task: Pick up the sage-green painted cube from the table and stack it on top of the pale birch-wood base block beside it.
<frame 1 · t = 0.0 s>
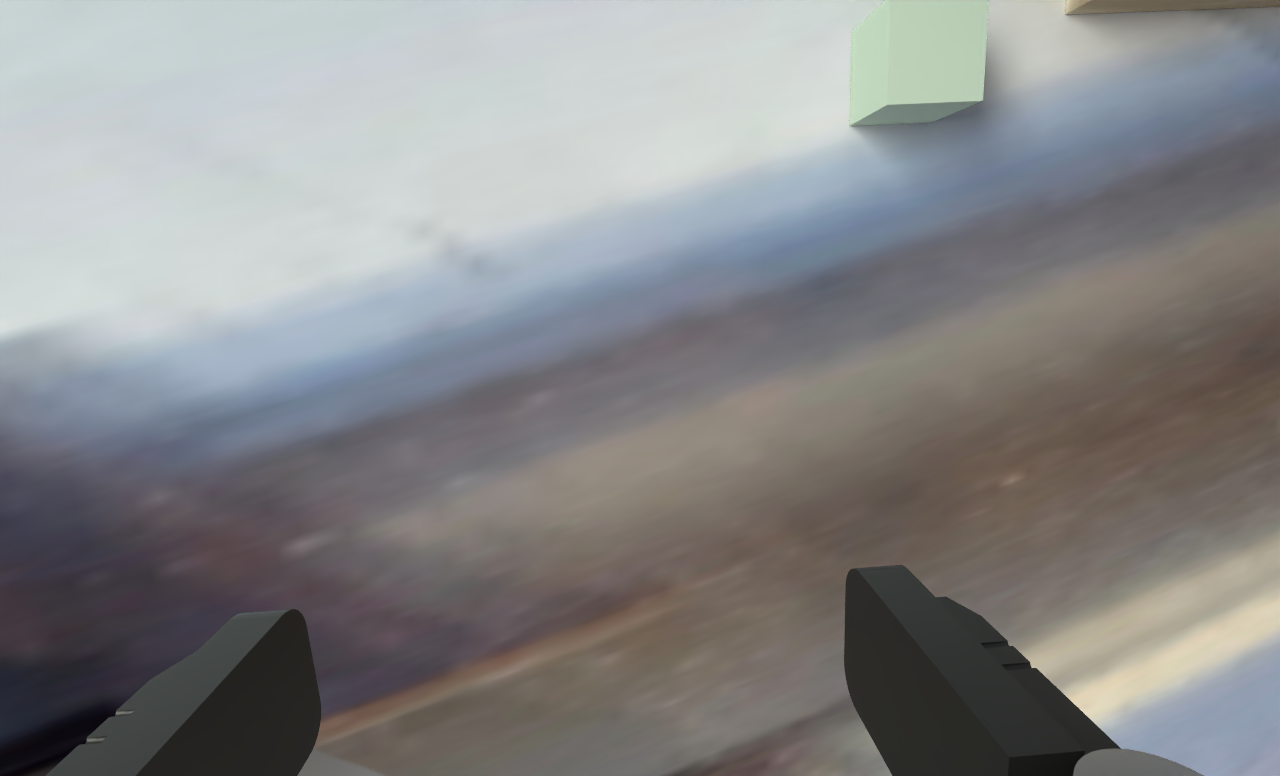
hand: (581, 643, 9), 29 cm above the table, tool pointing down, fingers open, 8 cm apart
cube: (891, 78, 35), on the table
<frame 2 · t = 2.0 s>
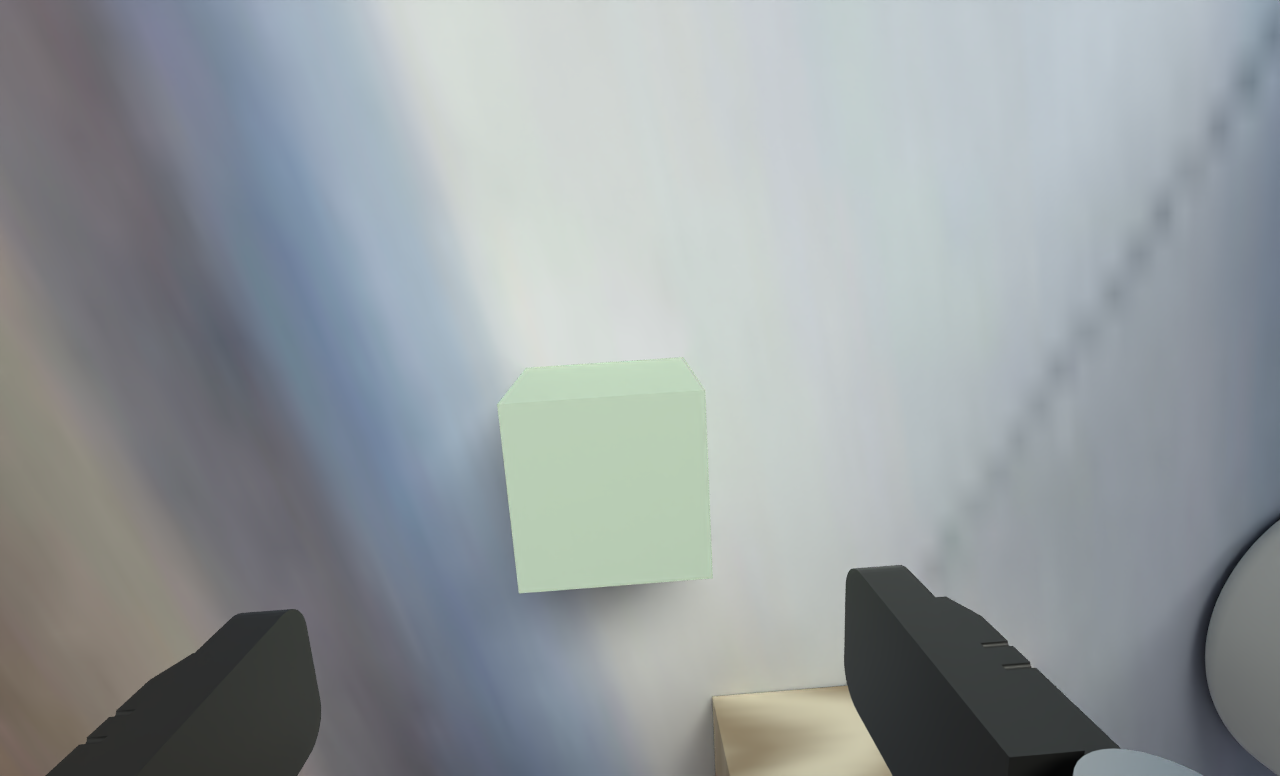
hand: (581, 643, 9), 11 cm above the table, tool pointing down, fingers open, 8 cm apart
cube: (610, 436, 20), on the table
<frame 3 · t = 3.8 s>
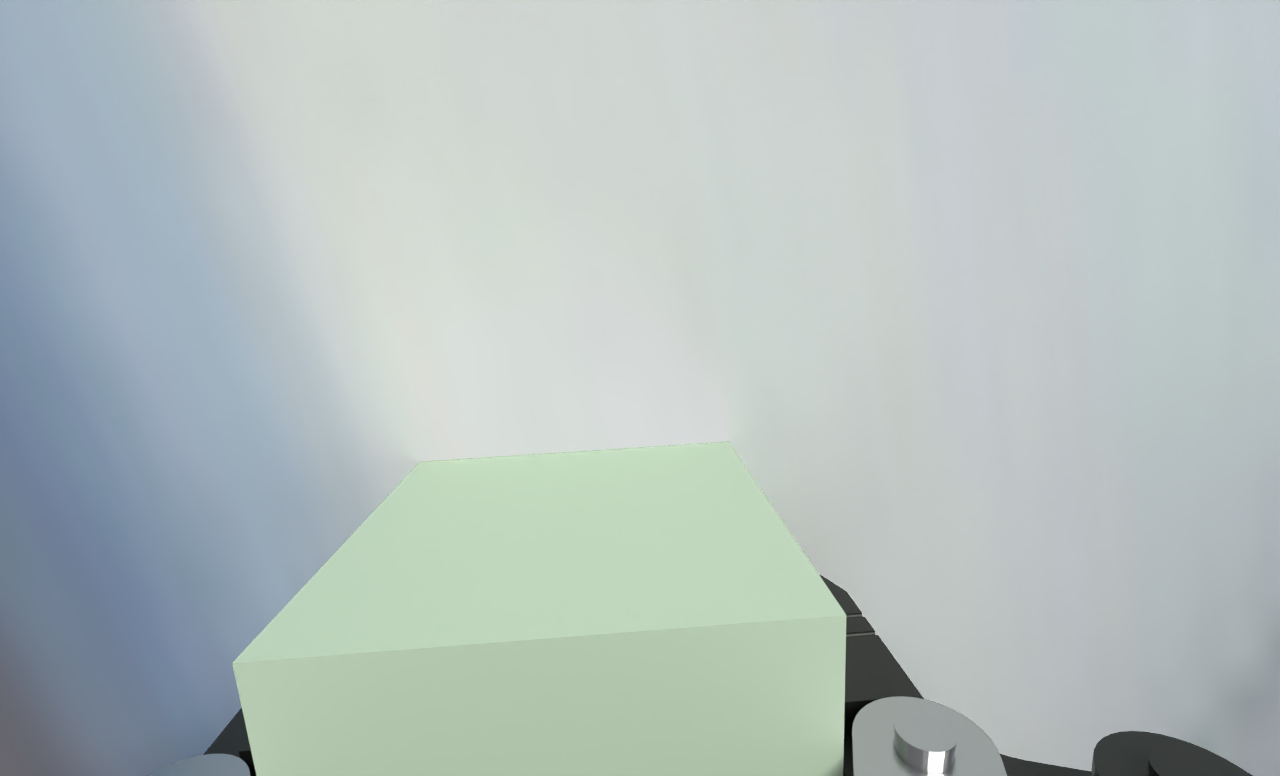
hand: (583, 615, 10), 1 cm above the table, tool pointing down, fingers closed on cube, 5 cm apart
cube: (586, 591, 10), on the table, touching gripper
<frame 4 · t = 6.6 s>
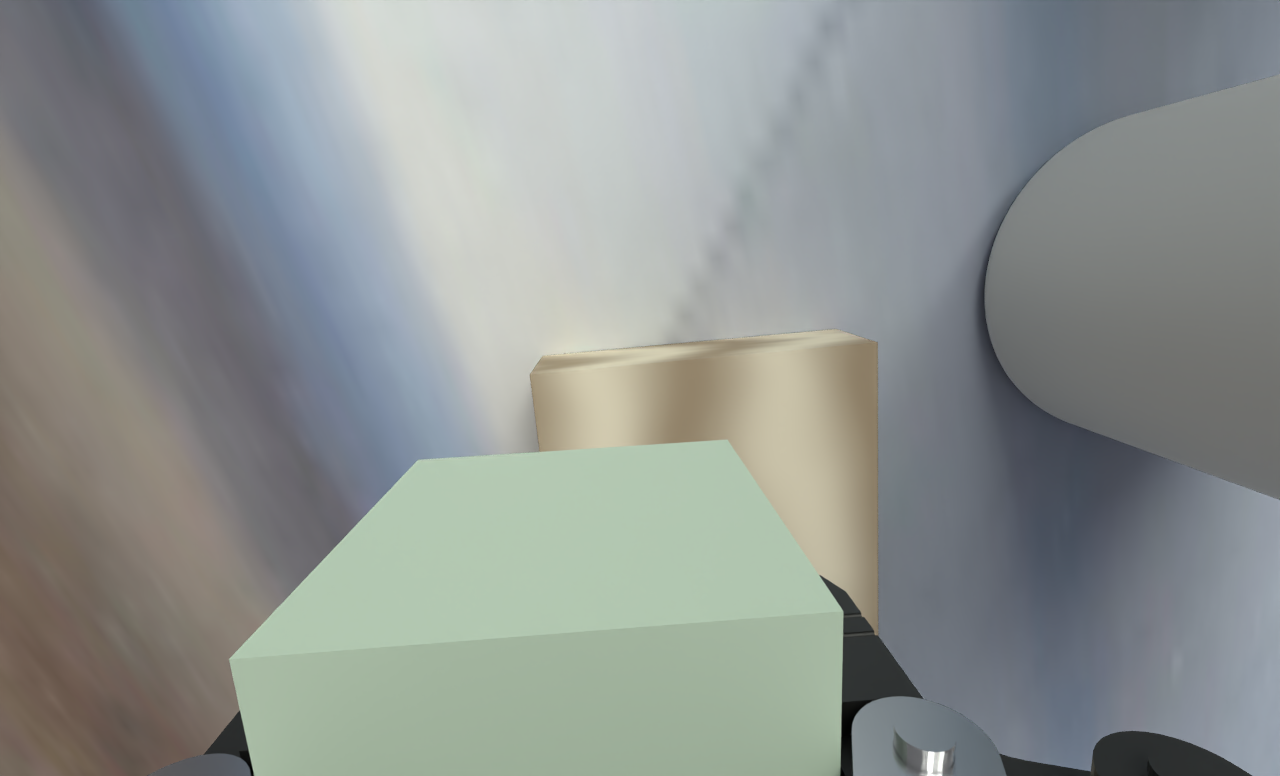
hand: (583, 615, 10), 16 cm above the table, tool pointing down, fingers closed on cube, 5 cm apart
cube: (585, 589, 10), point 15 cm above the table, touching gripper
cylinder vase: (1119, 278, 25), on the table
base block: (702, 524, 26), on the table
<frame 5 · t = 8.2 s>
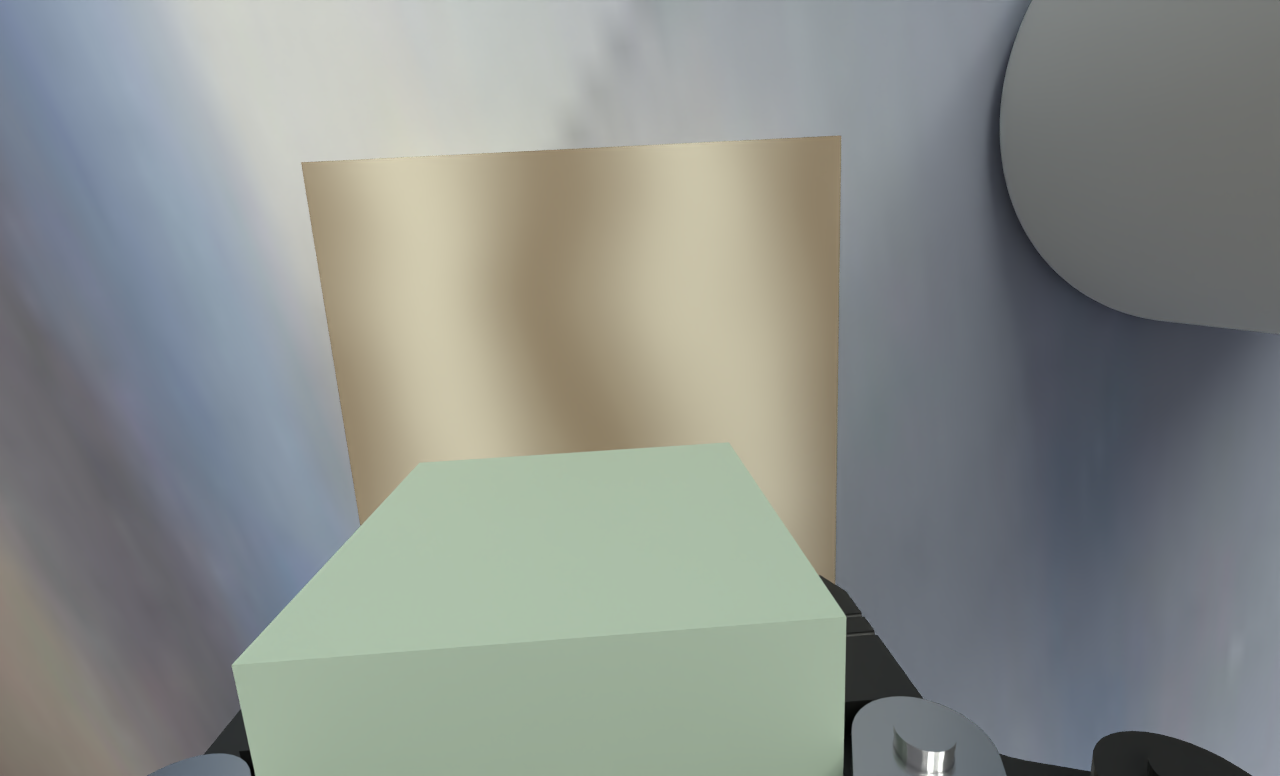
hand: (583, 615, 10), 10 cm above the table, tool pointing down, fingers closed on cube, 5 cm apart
cube: (586, 592, 10), point 9 cm above the table, touching gripper
cylinder vase: (1186, 108, 18), on the table
base block: (602, 440, 19), on the table
when the fingers open (6 cm above the table, at t = 9.7 s): cube drops 1 cm, resting on base block.
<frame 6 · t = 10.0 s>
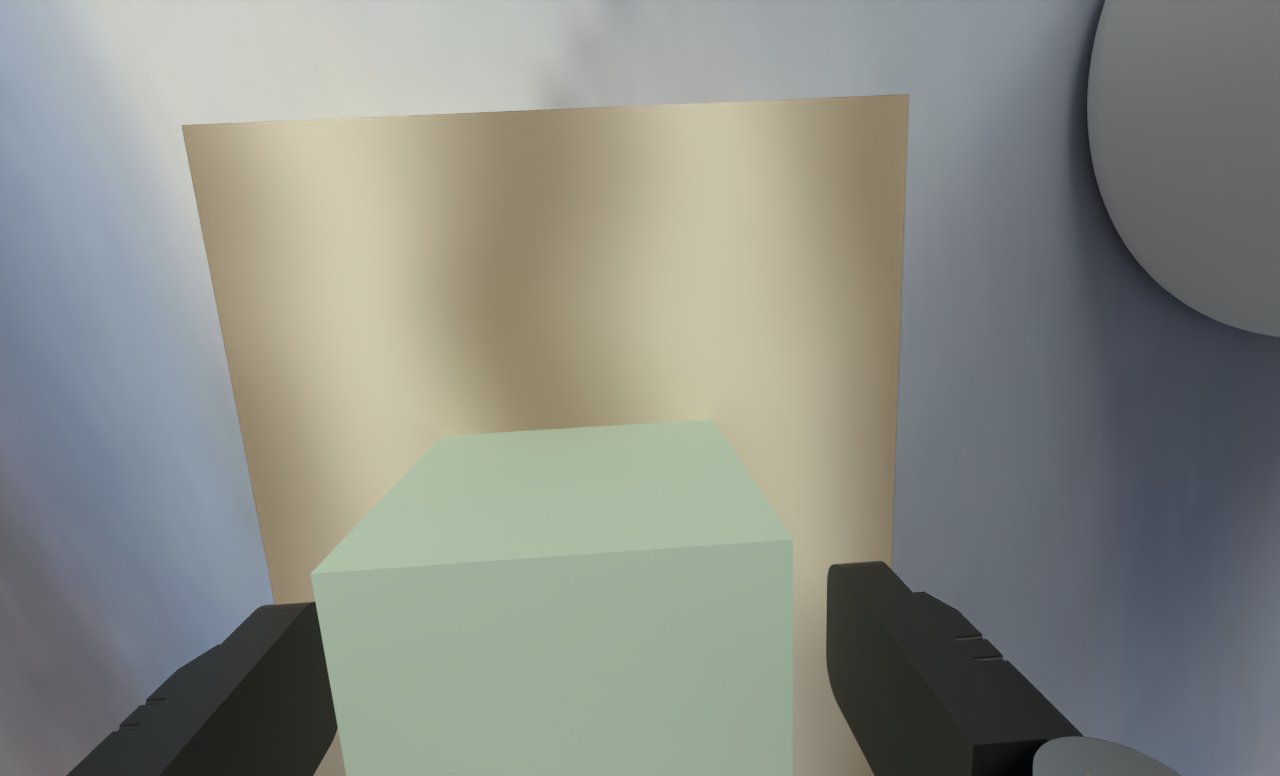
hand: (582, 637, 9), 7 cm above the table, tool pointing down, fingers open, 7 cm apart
cube: (587, 552, 12), point 4 cm above the table, touching base block
base block: (592, 480, 16), on the table
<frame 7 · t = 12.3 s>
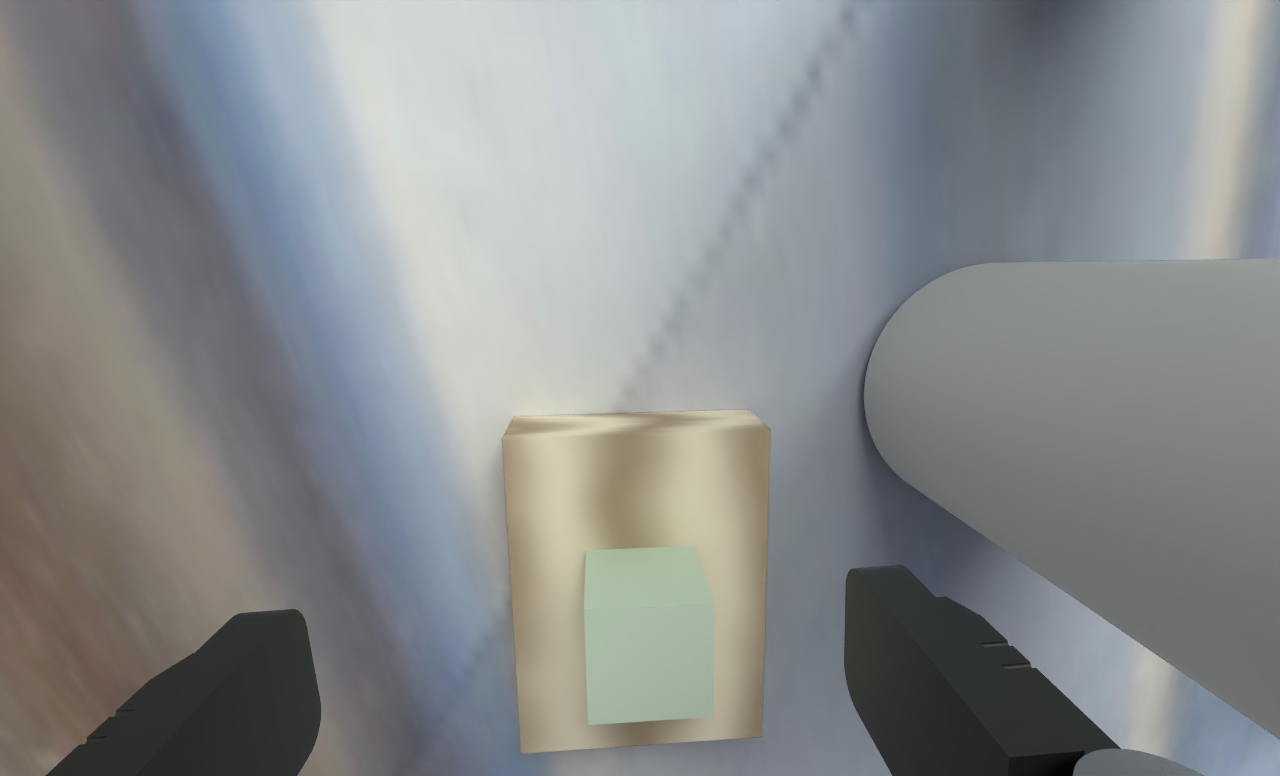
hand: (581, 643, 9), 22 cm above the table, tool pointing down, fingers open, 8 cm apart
cube: (640, 597, 29), point 4 cm above the table, touching base block
cylinder vase: (970, 382, 32), on the table
base block: (635, 558, 33), on the table
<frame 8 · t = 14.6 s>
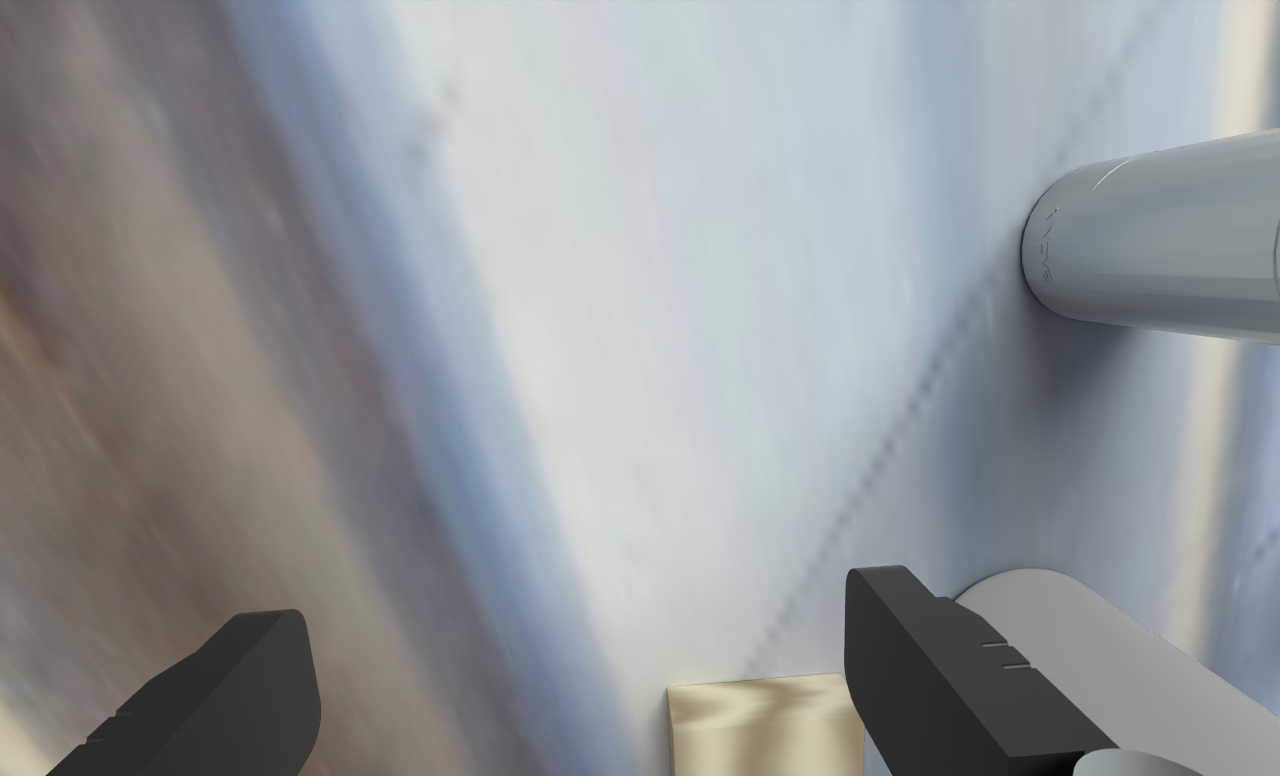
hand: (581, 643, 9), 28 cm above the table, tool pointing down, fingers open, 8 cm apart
cylinder vase: (1009, 644, 42), on the table
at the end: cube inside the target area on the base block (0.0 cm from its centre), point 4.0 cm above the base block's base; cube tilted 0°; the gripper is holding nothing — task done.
